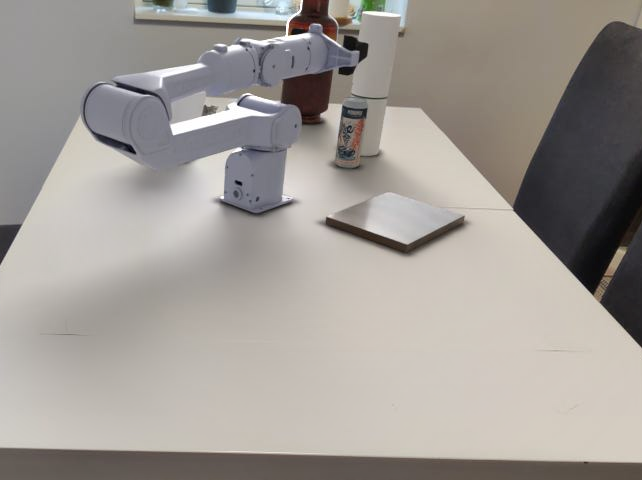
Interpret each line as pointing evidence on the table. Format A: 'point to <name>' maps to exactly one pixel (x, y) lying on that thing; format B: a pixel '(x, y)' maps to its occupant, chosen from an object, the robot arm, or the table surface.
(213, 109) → the egg carton
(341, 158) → the beer can
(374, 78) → the cylindrical container
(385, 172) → the table surface
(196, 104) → the cup
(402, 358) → the table surface
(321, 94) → the vase
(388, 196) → the serving board
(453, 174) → the table surface
